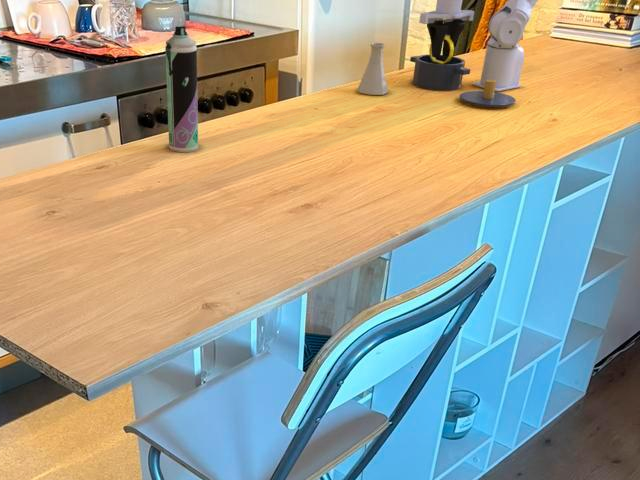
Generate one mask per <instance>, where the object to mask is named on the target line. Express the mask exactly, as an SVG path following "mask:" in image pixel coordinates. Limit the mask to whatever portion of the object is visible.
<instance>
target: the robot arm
mask: <svg viewBox="0 0 640 480" xmlns="http://www.w3.org/2000/svg"><path fill="white" fill-rule="evenodd" d="M537 2H539V0H507V1H506V2H505V4H504V5H503V6H502V8H501V9H499V10H497V11H496V12H495V13H494V14H493V15H492V16H491V18H490V19H489V22H488V33H489V35H490V38H489V39H488V41H487V44H486V49H485V54H484V60H483V64H482V70H481V74H480V80H479V81H475V82H472V83H471V85H472V86H474V87H478V88H481V89H484V86H485V80H489V79H490V80H495V81H496V85H495V90H494V92H503V91H508V90H512V89H516V88H521V87H522V84H520V80H521V74H522V70H523V65H524V61H525V52H524V49H523V47H522V46H521V45H519V44H520V43H519V42H520V41H521V39H522V38H523V36H524V32H525V28H526V26H527V24H528V22H529V21H530V19H531V15H532V12H533V8H534V7H535V6H536V4H537ZM462 4H463V0H436V4H435V10H433V11H427V12H421V13H420V15H419V24H423V25H426V28H427V31H428V35H429V38H430V45H431V46H432V57H435V58H440V55H442V56H445V57H449V54H450V46H449V43H448V42H447V41H446V40H444V37H445V35H446V34H447V35H450V39H451V40H452V42H453V45H454V46H455V45H456V43H457V41H458V39H459V37H460V35H461V34H462V32H463V31H464V29H465V27H466V21H469V22H472V21H474V16H475V11H474V10H471V9H462ZM464 21H465V22H464Z"/></svg>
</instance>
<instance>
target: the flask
mask: <svg viewBox="0 0 640 480" xmlns="http://www.w3.org/2000/svg"><path fill="white" fill-rule="evenodd" d="M385 47H386V44H385V43H384V42H371V43H370V48H371V50H370V51H371V52H370V56H369V59H368V63H367V65H366V69H365V71H364V73H363V75H362V77H361V80H360V83H359V85H358V87H357V91H358V93H360V94H365V95H370V96H372V95H373V96H379V95H380V96H381V95H382V96H383V95H385V94H387V93H389V90H388V85H387V84H388V83H387V80H386V75H385V68H384V58H383V53H384V48H385Z"/></svg>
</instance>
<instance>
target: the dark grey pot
mask: <svg viewBox="0 0 640 480" xmlns="http://www.w3.org/2000/svg"><path fill="white" fill-rule="evenodd" d="M447 58H448V57H445V56H442V54H441V55H440V58H436V60H439V61H442V62H444V61H446V60H447ZM409 61H410V63H414V67H413V68H414V69H413V76H412V85H413V86H415V87H416V88H419V89H424V90H428V91H437V92H438V91H439V92H447V91H448V92H449V91H455V90H459V89H461V86H462V83H463V77H464V76H466V75H470V74H471V69H470V68H467V67H465V65H466V61H465V60H464V59H462V58H461V57H457V56H454V55H453V56H452V58H451V60H450V61H449V62H447V63H446V64H440V63H436V62H433V61H432V60H431V58H430V54H421V55H415V56H410V59H409Z"/></svg>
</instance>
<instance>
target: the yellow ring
mask: <svg viewBox="0 0 640 480" xmlns="http://www.w3.org/2000/svg"><path fill="white" fill-rule="evenodd" d="M444 40H446V41H447V42H448V43H449V46H450V54H449V57H448V58H447V60H446V61H444V62H442V61H439V60H436V58H435V57H432V46H431V44H430V45H429V50H428V52H429V55H430V58H431V60H432V61H433V62H436V63H440V64H446V63H447V62H449V61H450V60H451V58H452V56H454V52H455V45H453V42H452V40H451V39H450V35H447V34H446V35H445V37H444Z"/></svg>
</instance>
